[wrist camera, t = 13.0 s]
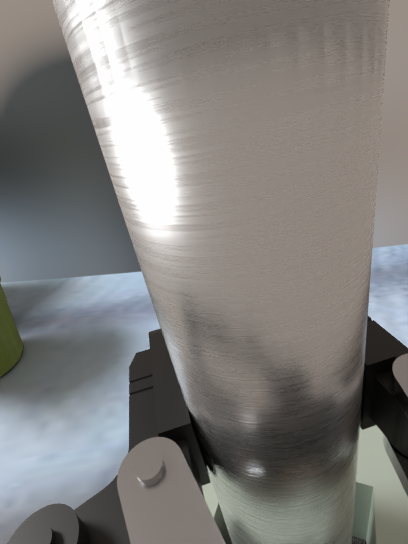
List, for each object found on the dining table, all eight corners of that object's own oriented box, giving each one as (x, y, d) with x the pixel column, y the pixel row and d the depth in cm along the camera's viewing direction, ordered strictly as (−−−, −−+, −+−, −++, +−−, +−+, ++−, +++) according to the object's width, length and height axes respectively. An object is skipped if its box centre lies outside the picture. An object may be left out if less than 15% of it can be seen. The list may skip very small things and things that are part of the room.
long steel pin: (346, 685, 11) (444, -301, 1) (238, 626, 12) (-36, -6, 3) (347, 548, 14) (381, -48, 5) (260, 516, 16) (157, 33, 6)
